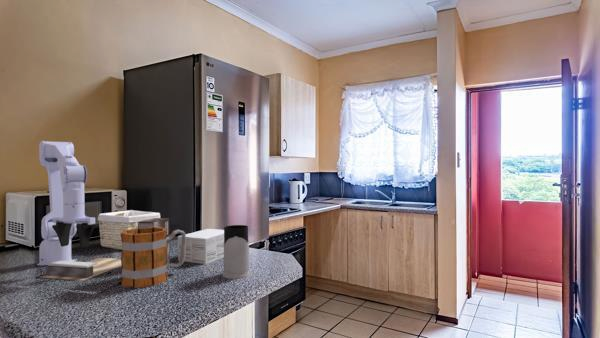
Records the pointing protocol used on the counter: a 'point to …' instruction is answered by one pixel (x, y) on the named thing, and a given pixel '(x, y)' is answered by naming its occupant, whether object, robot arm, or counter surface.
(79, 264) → the plate
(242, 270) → the glass holder
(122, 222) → the storage basket
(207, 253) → the supplement box
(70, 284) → the counter surface
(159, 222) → the coffee box
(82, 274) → the board
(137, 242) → the mug
